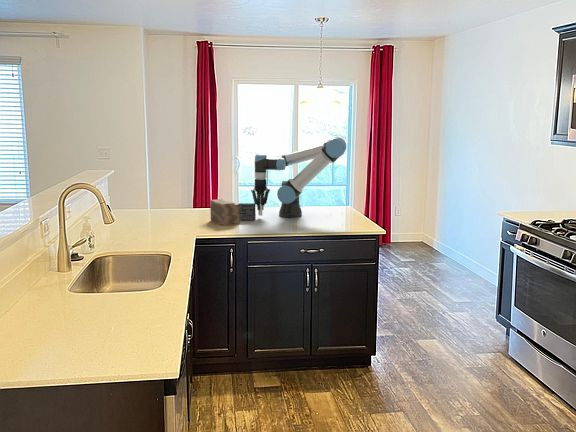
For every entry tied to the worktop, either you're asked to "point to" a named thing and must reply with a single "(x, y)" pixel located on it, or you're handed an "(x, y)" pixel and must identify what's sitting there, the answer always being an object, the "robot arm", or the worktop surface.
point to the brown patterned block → (224, 212)
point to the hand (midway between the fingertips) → (260, 215)
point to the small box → (247, 212)
